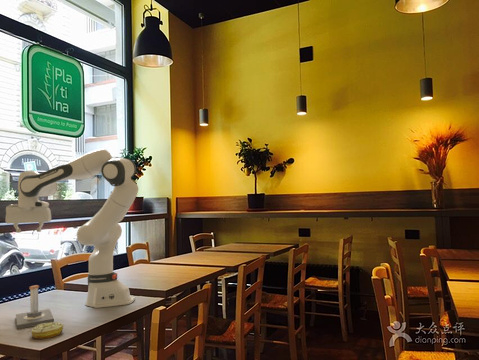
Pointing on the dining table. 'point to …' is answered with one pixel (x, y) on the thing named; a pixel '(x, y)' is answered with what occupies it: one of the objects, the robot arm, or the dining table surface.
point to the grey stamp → (34, 302)
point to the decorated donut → (47, 330)
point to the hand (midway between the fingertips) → (28, 232)
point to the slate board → (33, 319)
